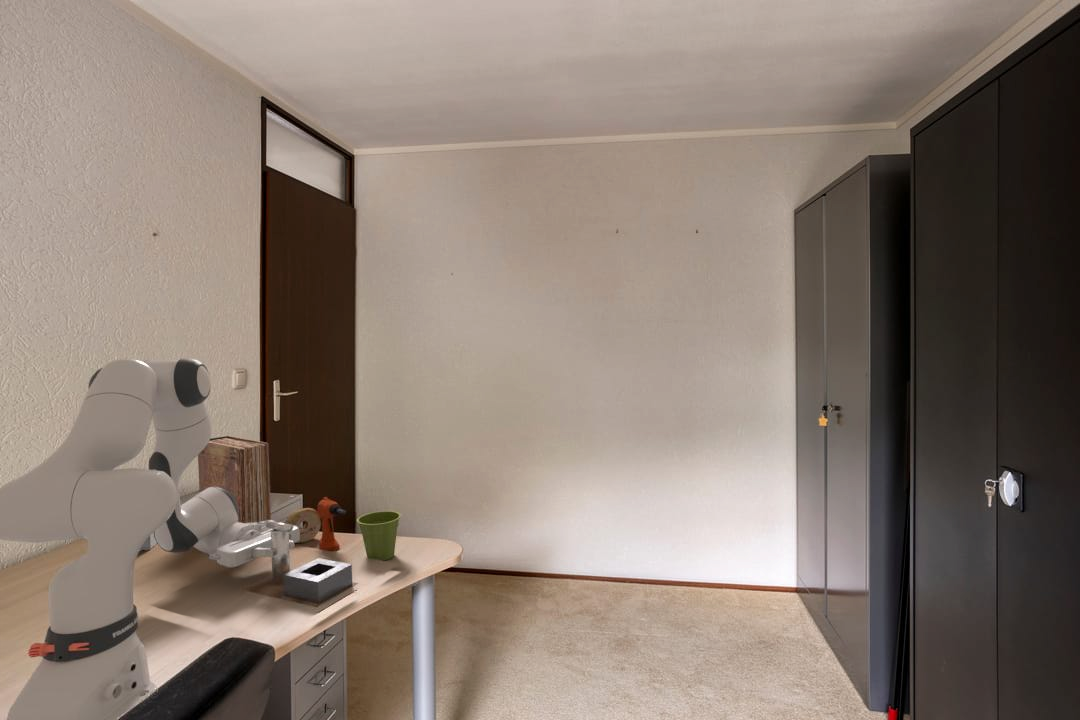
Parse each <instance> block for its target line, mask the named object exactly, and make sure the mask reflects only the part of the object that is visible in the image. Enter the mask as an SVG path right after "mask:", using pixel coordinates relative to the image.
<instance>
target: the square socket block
mask: <svg viewBox="0 0 1080 720" xmlns="http://www.w3.org/2000/svg"><path fill="white" fill-rule="evenodd" d="M291 570H292V571H290V572H288V573H286V574H284V575H283V578H284V596H286V597H290V598H295V599H299V600H303V601H308V602H312V603H316V604H320V603H322V602H323V601H325V600H327V599H328V598H330V597H332V596H334V595H335V594H337V593H339V592H341V591H342V590H344V589H346V588H348V587H349V586H351V585H352V582H353V566H352V563H347V562H341V561H336V560H330V559H325V558H320V557H318V558H315V559H314V560H311V561H310V562H308V563H305V564H303V565H301V566H298V567H297V568H295V569H291Z"/></svg>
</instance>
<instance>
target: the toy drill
mask: <svg viewBox="0 0 1080 720" xmlns="http://www.w3.org/2000/svg"><path fill="white" fill-rule="evenodd" d="M316 509H317V510H316V511H317V512H318V514H319V516H320V520H321V526H322V529H321V530H322V531H321V532H322V533H321V538H320V539H319V541H318V547H319V549H320V550H322V551H327V552H334V551H337V550H339V549H340V544H339V542H338V540H336V538H335V530H334V521H333V520H334V518H333V517H335V516H337V515H340V514H343V515H345V514H347V511H346V510H344V509H343V508H342V507H341V506H340V505H339V504H338V503H337V502H336V501H334V500H332V499H329V498H328V497H327V496H325V497H323V498H322V499H321V500H320V501H319V502H318V504H317V508H316Z"/></svg>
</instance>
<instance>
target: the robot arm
mask: <svg viewBox="0 0 1080 720" xmlns="http://www.w3.org/2000/svg"><path fill="white" fill-rule="evenodd" d="M210 393H211V376H210V373H209V370H208V368H207V366H205V364H203V363H202V362H201V361H199V360H198V359H193V358H180V359H157V360H155V359H154V360H151V359H148V360H147V359H146V360H139V359H138V360H137V359H133V358H119V359H114V360H112V361H110V362H109V361H108V363H107V364H105V365H104V366H103V367H102V368H99V369H97V370H96V371H95V372H94V373H93V375H92V376H91V377H90V379H89V381H88V390H87V391H86V394H85V397H84V399H83V401H82V404H81V407H80V409H79V412H78V414H77V417H76V418H75V421H74V423H73V425H72V427H71V429H70V432H69V433H68V435H67V436H66V438H65V440H64V442H63V443H62V444H61V445H60V446H59V447H58V448H57V449H56V451H54V452H53V453H52V454H51V455H50V456H48V457H47V458H46V459H45V460H44V461H43V462H42V463H39V465H37V466H35V467H34V468H33V469H31V470H30V471H28V472H27V473H24V474H23V475H21V476H19V477H17V478H15V479H13V480H11V481H8V482H6V483H5V484H3V485H2V486H1V487H0V540H2V541H8V542H9V541H10V542H19V543H34V544H35V543H36V544H39V543H47V542H48V543H50V542H59V541H70V540H79V539H81V540H82V539H84V540H85V539H86V540H87V551H86V554H85V553H84V555H81V556H79V557H78V558H76V559H74V560H72V561H70V562H68V563H67V564H66V565H63V567H61V568H60V569H59V570H58V571H57V572H56V573H55V574H54V575H53V577H52V578H51V580H50V583H49V585H48V588H47V589H48V604H49V605H48V606H49V609H48V610H49V623H50V624H49V626H48V628H47V630H46V635H45V637H44V642H43V643H41V642H34V643H32V644H31V645H30V647H29V649H28V653H27V654H28V657H30V658H36V657H42V658H41V660H40V662H39V663H38V665H37V666H36V668H35V670H33V672H32V674H31V676H30V678H28V679H27V682H26V684H25V685H24V687H23V688H22V689H21V691H20V692H19V694H18V695H17V696H16V699H15V700H14V701H13V703H12V705H11V706H10V707H9V710H8V712H7V718H6V720H117V718H118V717H120V716H121V715H122V714H124V713H125V712H127V711H128V710H130V709H131V708H132V707H134V706H135V705H136V704H137V703H139V702H140V701H142V700H143V699H144V698H146V697H147V696H148V695H149V694H151V693H152V692H153V691H154V690H156V689H157V690H158V688H157V685H156V684H154V683H152V682H151V678H150V672H149V665H148V659H147V653H146V648H145V645H144V644H143V643H142V642H141V639H140V638H139V636H138V633H137V629H138V627H139V625H138V620H139V613H138V609H137V606H136V605H135V604H134V575H135V574H134V571H135V564H136V561H137V557H138V554H139V552H140V551H139V550H140V548H141V547H142V545H143V544H144V542H145V541H146V540H147V538H148V537H149V536H150V535H151V534H152V533H153V532H154V538H155V540H156V542H157V544H156V545H158V547H160V548H161V549H162V550H163V551H165V552H169V553H187V552H188V551H189V550H190V549H191V548H195V549H197V550H198V551H200V552H202V553H204V554H207V555H208V559H210V560H216V563H218V564H219V565H220V566H224V567H226V568H236V567H239V566H241V565H244V564H246V563H247V564H248V563H249V562H251V561H254V560H256V559H259V558H272V556H275V555H276V549H275V548H272V547H271V531H272V529H267V528H266V527H265V524H266V523H267V522H268V521H271V522H276V521H275V520H273V519H271V520H267V521H262V522H256V523H240V522H238V520H239V510H238V504H237V501H236V499H235V497H234V496H233V494H232V493H230V492H229V491H227V490H225V489H222V488H220V487H208V488H207V489H205V490H204V491H202V492H200V491H199V493H197V494H196V495H194V496H193V497H192V498H190V499H189V500H187V501H186V502H184V503H182V504H181V499H180V491H179V482H180V479H181V477H182V475H183V473H184V471H185V470H186V469H187V467H189V465H190V464H191V463H192V462H193V461H194V460H195V458H196V457H198V454H199V453H200V452H201V451H202V450H203V449H204V448H205V447H206V445H207V444H208V442H209V440H210V439H211V438H212V432H213V429H212V427H213V426H212V421H211V418H210V415H209V412H208V408H207V405H206V403H205V401H206V400H207V398H208V397H209V395H210ZM151 423H152V424H153V426H154V431H155V445H154V448H153V449H154V450H153V452H152V454H151V455H150V458H149V460H148V469H146V468H135V467H133V468H132V467H131V468H118V467H120V466H121V465H124V464H126V463H128V462H130V461H131V460H133V459H135V458H136V457H137V456H138V455H139V453H141V451H142V450H143V449H144V446H146V440H147V436H148V435H149V434H148V433H149V432H150V431H149V430H150V426H151ZM116 468H118V469H116ZM299 539H300V531H299V528H298V527H297V526H294V525H293V530H292V531H291V532H289V550H291V549H294V548H295V544H296V543H295V542H298V541H299Z"/></svg>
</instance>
